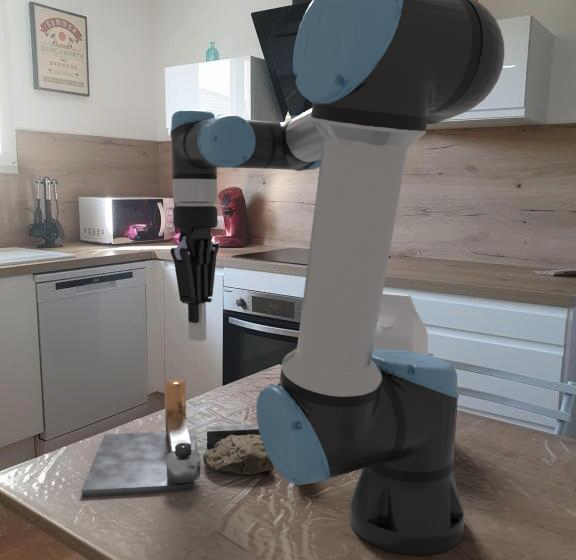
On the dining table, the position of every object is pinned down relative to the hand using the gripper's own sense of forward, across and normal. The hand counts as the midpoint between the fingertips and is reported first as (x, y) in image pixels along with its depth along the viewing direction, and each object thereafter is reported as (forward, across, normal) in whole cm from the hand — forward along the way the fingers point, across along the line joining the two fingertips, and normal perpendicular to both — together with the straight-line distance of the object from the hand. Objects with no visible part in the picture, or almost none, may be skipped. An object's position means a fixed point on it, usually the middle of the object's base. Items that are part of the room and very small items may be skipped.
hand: (197, 339), depth 104 cm
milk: (+18, -15, +31) cm, 39 cm away
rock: (+19, +7, +11) cm, 23 cm away
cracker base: (+18, +8, +5) cm, 20 cm away
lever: (+17, +10, +2) cm, 19 cm away
